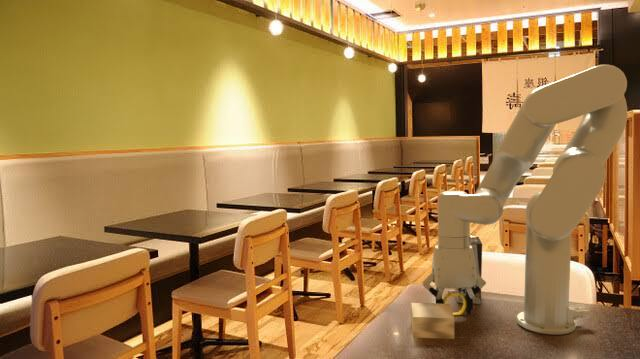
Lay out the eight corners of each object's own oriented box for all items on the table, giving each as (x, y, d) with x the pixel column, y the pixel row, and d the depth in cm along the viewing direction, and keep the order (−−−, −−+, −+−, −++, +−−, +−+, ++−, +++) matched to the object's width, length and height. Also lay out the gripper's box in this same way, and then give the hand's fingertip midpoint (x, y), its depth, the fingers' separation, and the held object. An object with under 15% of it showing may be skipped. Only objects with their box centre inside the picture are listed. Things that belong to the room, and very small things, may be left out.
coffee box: (481, 304, 135) (482, 243, 134) (456, 303, 137) (457, 243, 135) (478, 292, 144) (479, 236, 142) (454, 291, 146) (455, 235, 144)
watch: (445, 318, 127) (443, 295, 126) (441, 314, 130) (439, 291, 129) (468, 315, 128) (466, 291, 127) (463, 311, 130) (462, 288, 130)
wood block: (449, 324, 124) (449, 303, 123) (454, 339, 115) (454, 318, 114) (411, 322, 125) (411, 302, 124) (413, 338, 116) (413, 317, 115)
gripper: (484, 237, 130) (484, 306, 132) (415, 239, 130) (416, 308, 132) (494, 244, 123) (493, 317, 125) (421, 246, 123) (421, 319, 125)
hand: (454, 312), depth 129 cm, fingers closed on watch, 6 cm apart
